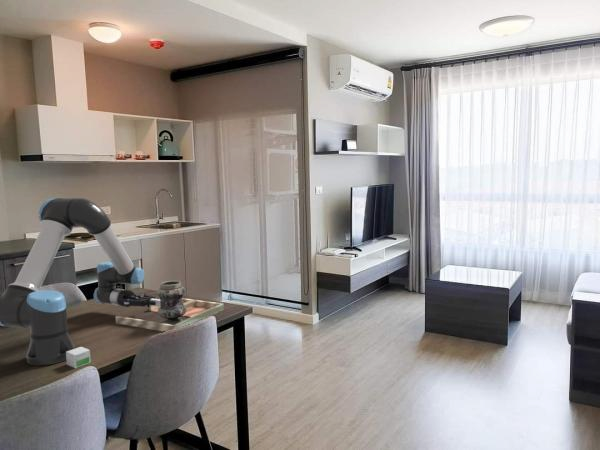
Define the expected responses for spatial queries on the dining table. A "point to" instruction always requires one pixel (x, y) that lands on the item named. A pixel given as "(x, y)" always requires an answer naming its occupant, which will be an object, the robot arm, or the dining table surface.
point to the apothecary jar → (171, 302)
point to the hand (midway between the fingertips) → (162, 303)
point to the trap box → (194, 311)
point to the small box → (78, 357)
